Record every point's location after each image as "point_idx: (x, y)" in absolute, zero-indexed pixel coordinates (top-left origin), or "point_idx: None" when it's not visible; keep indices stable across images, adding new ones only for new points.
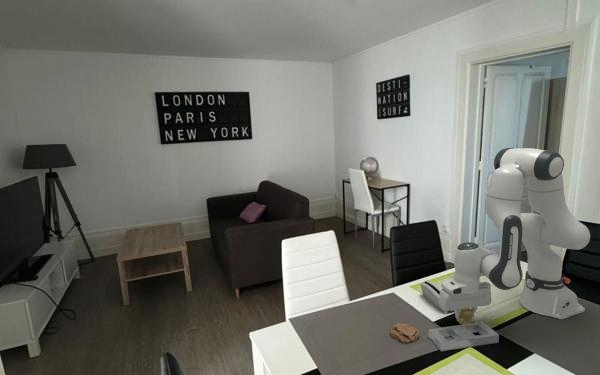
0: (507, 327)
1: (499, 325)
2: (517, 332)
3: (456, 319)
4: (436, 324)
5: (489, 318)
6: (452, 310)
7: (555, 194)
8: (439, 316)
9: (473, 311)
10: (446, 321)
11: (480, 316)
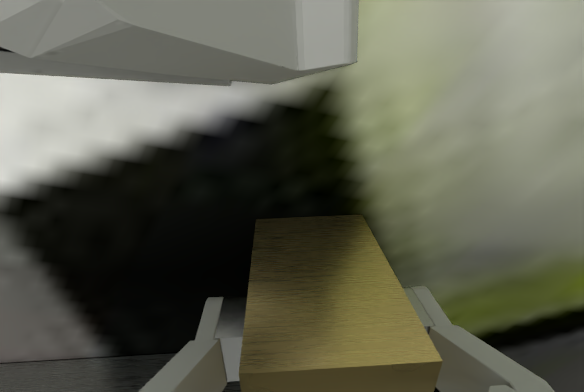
0: (569, 344)
1: (544, 323)
2: (567, 384)
3: (256, 223)
4: (15, 249)
5: (574, 241)
6: (300, 75)
7: None
8: (90, 122)
9: (440, 384)
10: (141, 221)
11: (533, 202)
